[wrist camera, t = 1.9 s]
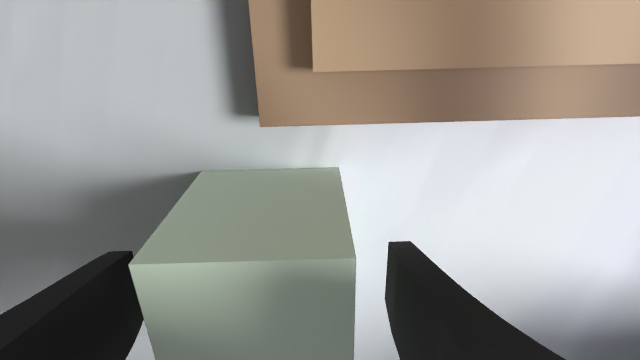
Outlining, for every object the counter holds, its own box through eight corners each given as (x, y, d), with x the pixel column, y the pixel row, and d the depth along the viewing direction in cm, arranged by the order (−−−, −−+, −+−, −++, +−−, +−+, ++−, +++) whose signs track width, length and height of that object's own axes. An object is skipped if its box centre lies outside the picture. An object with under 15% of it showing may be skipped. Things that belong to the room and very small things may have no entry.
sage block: (338, 166, 12) (355, 258, 7) (338, 276, 13) (352, 407, 9) (201, 170, 11) (128, 264, 7) (220, 280, 13) (171, 413, 9)
